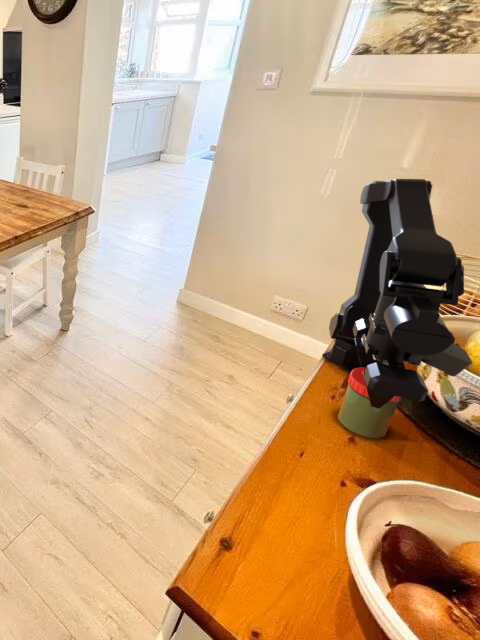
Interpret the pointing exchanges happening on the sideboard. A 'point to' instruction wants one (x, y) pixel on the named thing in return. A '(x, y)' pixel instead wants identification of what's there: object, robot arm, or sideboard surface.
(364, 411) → the jam jar
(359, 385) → the lid
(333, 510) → the sideboard surface
